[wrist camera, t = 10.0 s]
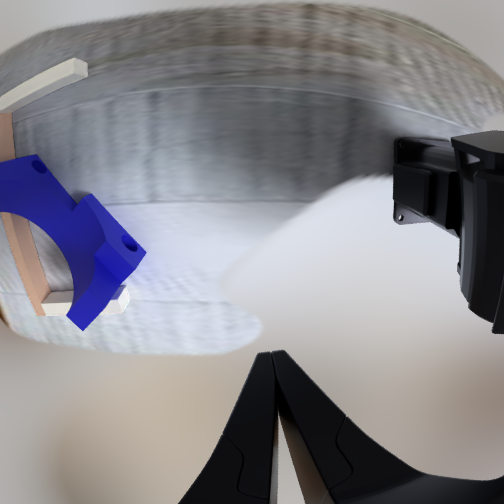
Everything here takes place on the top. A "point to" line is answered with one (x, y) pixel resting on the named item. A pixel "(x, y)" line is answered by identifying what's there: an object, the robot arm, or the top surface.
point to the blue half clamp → (72, 234)
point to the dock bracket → (18, 226)
